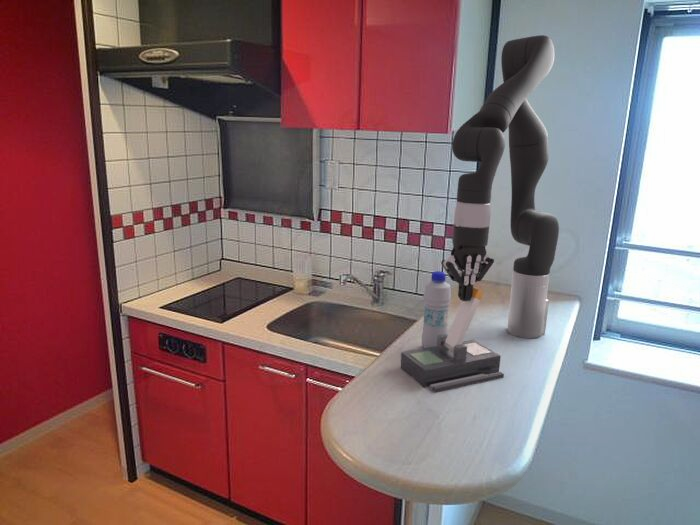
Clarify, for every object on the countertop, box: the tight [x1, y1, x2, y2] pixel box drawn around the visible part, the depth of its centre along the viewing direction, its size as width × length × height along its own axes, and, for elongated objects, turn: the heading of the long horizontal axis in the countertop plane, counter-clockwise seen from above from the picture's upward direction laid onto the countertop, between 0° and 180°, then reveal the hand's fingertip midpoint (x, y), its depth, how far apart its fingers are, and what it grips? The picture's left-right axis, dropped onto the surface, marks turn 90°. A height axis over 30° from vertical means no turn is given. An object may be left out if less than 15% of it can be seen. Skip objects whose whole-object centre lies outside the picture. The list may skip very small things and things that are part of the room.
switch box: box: [400, 333, 501, 389], centre depth 119 cm, size 20×10×7 cm, turn 115°
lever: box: [444, 286, 484, 352], centre depth 118 cm, size 2×4×15 cm, turn 25°
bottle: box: [421, 270, 452, 348], centre depth 129 cm, size 7×7×20 cm
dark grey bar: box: [429, 371, 505, 393], centre depth 114 cm, size 18×2×1 cm, turn 114°
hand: (464, 300), depth 117 cm, fingers closed
